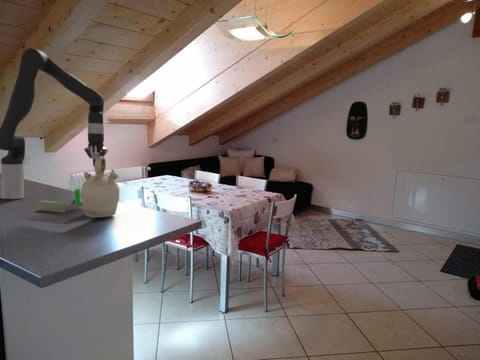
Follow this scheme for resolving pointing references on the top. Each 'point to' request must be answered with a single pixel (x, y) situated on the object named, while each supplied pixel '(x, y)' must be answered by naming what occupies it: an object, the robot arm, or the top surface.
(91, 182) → the jug
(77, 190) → the mechanical part
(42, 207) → the low bench
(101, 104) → the robot arm
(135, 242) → the top surface
